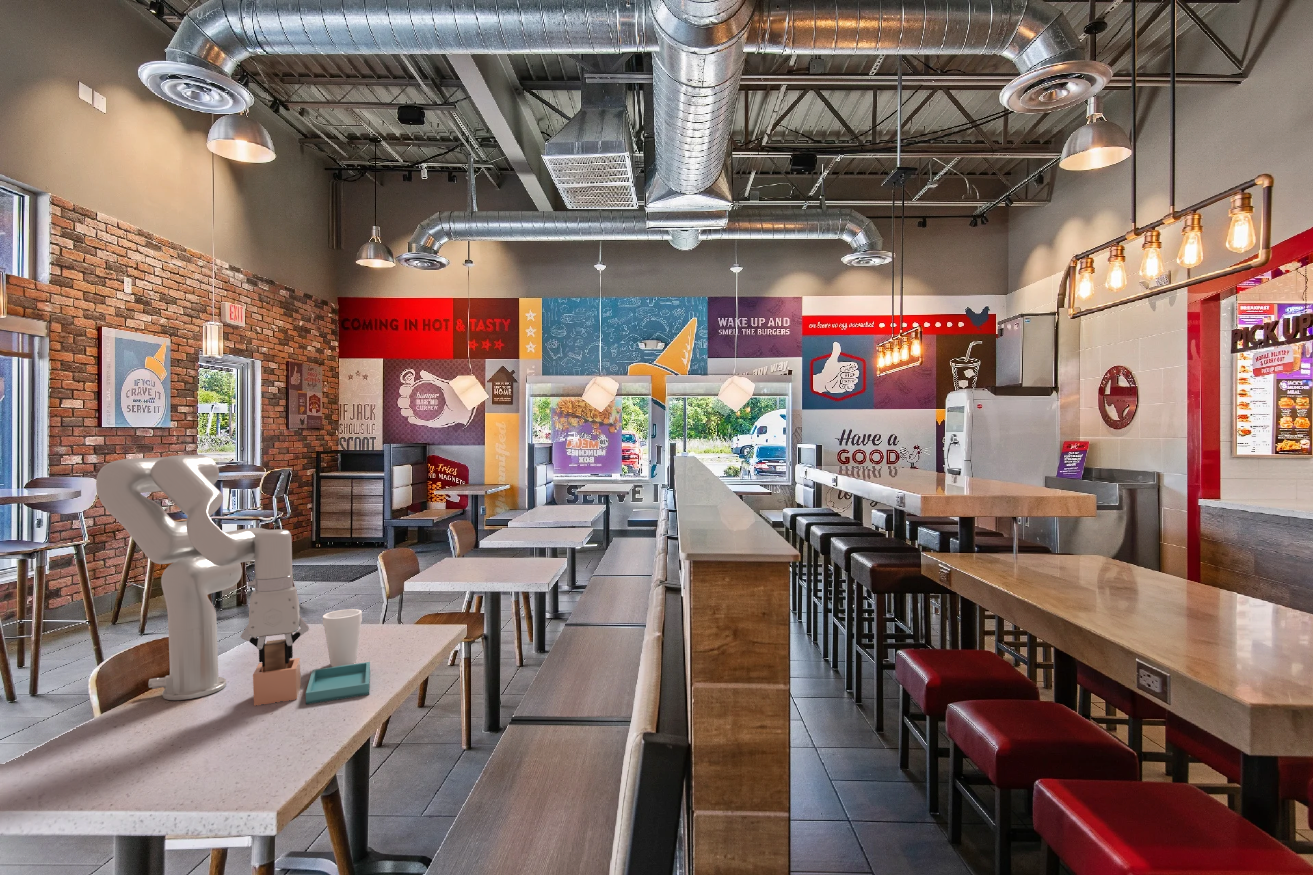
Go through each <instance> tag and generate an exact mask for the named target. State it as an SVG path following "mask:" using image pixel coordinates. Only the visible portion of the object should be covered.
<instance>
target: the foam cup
mask: <svg viewBox="0 0 1313 875" xmlns="http://www.w3.org/2000/svg"><path fill="white" fill-rule="evenodd" d="M362 615H363V611H362V610H361V609H356V608H355V609H354V608H351V609H350V608H349V609H347V608H346V609H339V610H333V611H330V612H327V613H325V614H323V615H322V626H323V628H324V634H325V639H326V641H325V642H326V645H327V652H328V656H329V663H330V667H336V666H343V665H350V664H354V663H355V662H356V663H357V662H358V656H359V646H360V635H361V626H362V622H363V616H362ZM356 663H355V664H356Z"/></svg>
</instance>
